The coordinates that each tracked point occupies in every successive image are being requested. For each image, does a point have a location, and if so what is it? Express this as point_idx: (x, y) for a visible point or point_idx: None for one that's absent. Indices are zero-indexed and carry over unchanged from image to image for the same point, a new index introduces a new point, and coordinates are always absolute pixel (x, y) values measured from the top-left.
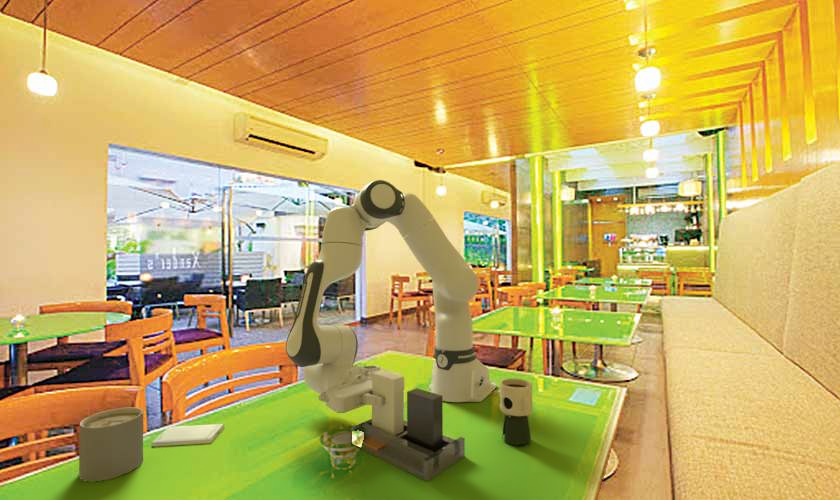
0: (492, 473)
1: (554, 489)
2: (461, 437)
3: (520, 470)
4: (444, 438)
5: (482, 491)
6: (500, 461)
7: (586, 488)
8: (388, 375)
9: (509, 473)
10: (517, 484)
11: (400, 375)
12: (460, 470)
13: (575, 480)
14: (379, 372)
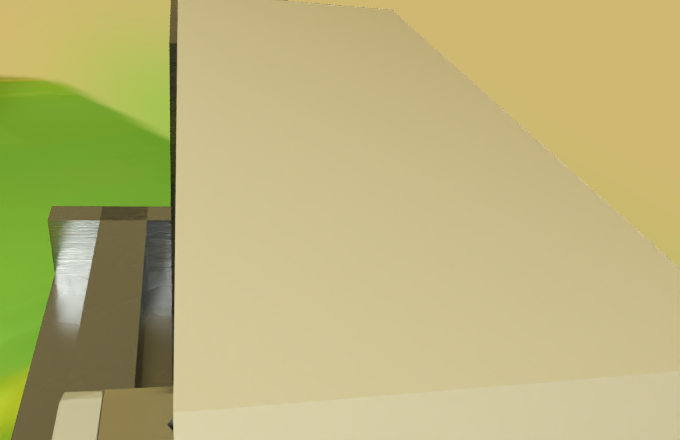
0: (121, 190)
1: (90, 106)
2: (51, 216)
3: (41, 157)
4: (123, 252)
5: None
6: (15, 200)
7: (36, 80)
8: (362, 76)
9: (84, 167)
10: (131, 145)
11: (180, 9)
12: None
13: (9, 91)
14: (465, 263)
